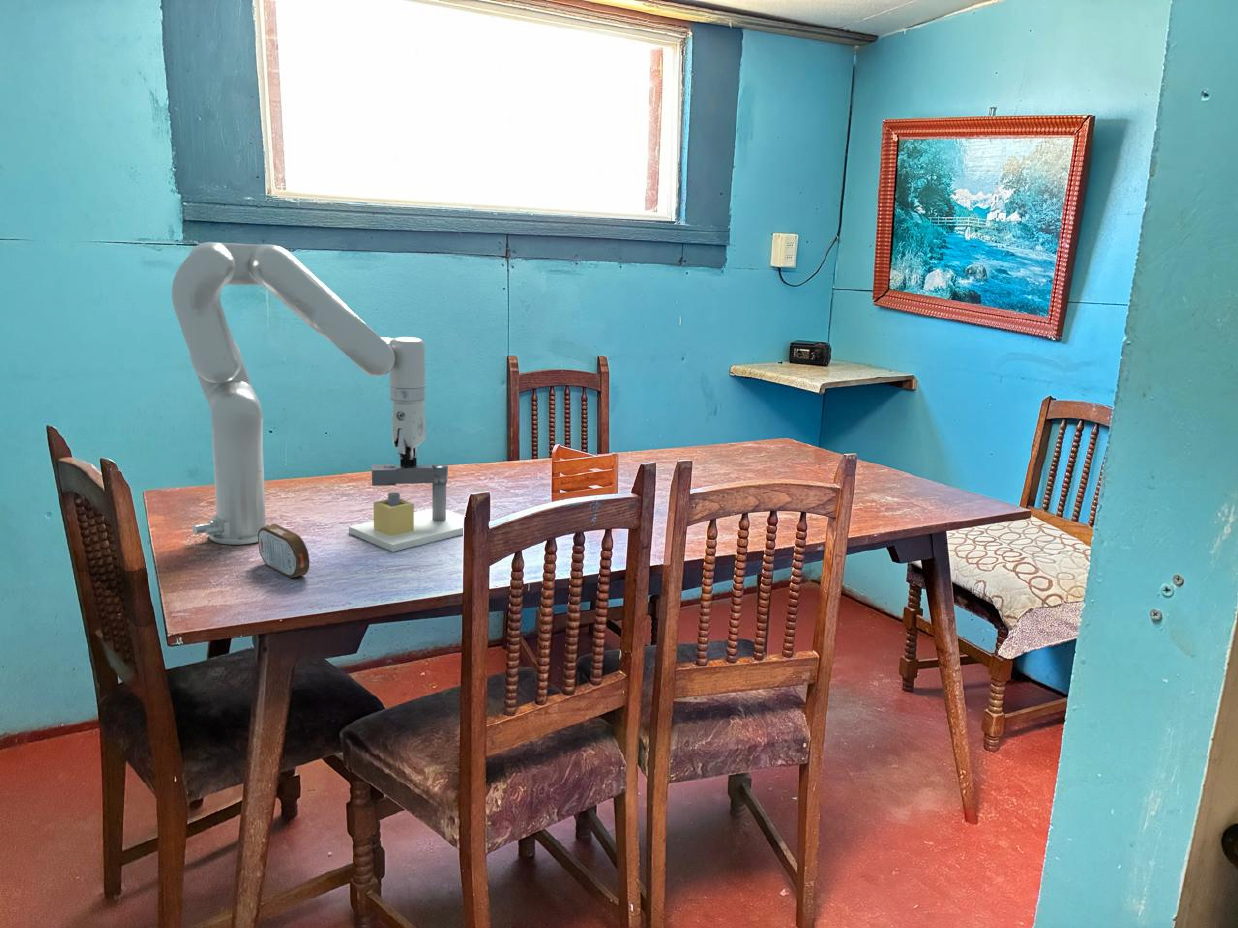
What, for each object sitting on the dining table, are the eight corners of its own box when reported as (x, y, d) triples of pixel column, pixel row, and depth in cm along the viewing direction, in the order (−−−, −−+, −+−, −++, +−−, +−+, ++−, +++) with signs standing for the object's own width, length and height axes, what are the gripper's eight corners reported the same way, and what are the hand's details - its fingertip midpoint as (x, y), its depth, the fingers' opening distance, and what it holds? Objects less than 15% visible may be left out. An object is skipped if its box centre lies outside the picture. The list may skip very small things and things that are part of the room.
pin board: (392, 551, 192) (392, 505, 190) (348, 532, 203) (348, 488, 200) (482, 529, 210) (483, 486, 208) (438, 512, 220) (438, 471, 218)
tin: (311, 580, 175) (310, 537, 173) (296, 584, 173) (294, 541, 171) (270, 559, 185) (269, 518, 183) (255, 562, 183) (253, 521, 181)
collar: (413, 530, 202) (413, 503, 200) (390, 535, 198) (389, 508, 196) (397, 523, 206) (397, 497, 204) (373, 529, 201) (373, 502, 200)
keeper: (446, 478, 211) (446, 463, 210) (448, 484, 206) (448, 469, 206) (371, 479, 207) (371, 464, 206) (372, 485, 202) (371, 470, 201)
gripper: (413, 401, 198) (414, 485, 202) (434, 389, 212) (434, 468, 216) (379, 399, 198) (380, 482, 203) (402, 387, 213) (403, 466, 217)
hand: (408, 475), depth 210 cm, fingers closed
